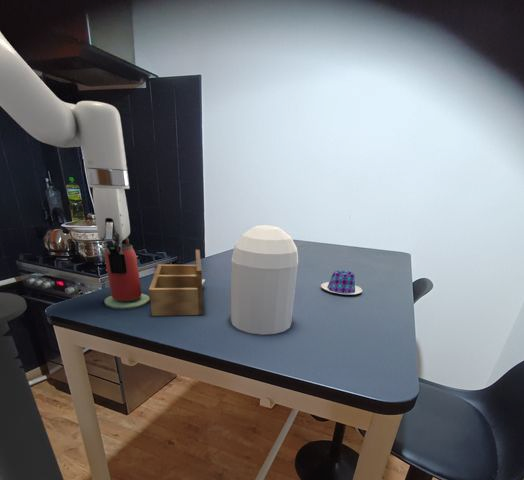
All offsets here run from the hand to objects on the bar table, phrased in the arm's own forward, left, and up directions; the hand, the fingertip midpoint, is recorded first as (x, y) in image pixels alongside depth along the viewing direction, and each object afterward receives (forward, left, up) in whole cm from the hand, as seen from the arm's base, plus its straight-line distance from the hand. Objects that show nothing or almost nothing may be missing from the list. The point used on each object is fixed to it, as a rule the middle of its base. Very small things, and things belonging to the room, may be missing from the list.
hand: (122, 268), depth 72 cm
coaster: (0, 0, -8) cm, 8 cm away
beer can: (0, 0, -7) cm, 7 cm away
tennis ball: (+15, +8, -6) cm, 18 cm away
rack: (+12, +1, -8) cm, 14 cm away
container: (+30, -14, -8) cm, 34 cm away
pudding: (+58, +7, -8) cm, 59 cm away
